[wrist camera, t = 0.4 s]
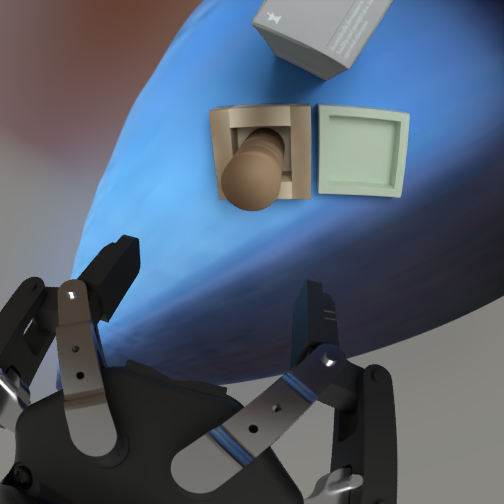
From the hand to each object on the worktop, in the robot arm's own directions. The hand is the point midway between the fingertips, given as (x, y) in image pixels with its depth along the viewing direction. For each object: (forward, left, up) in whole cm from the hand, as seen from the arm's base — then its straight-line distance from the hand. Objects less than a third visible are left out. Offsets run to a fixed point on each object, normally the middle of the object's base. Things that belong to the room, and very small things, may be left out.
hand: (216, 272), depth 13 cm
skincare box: (-6, -13, -23) cm, 27 cm away
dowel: (0, 0, -22) cm, 22 cm away
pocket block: (0, 0, -23) cm, 23 cm away
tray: (-11, 0, -23) cm, 25 cm away
